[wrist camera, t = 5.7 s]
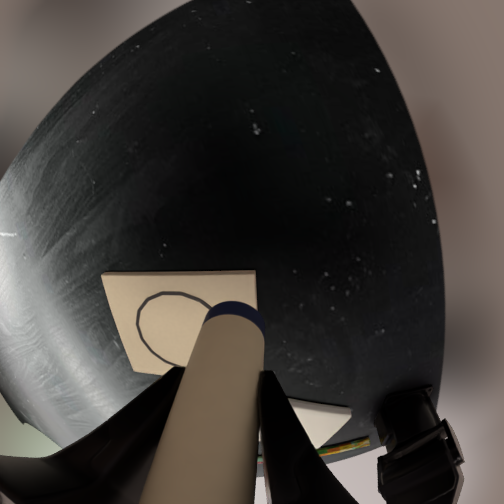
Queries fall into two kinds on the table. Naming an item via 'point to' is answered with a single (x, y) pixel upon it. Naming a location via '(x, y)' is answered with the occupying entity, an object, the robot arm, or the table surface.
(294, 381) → the table surface
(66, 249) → the table surface
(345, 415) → the hard drive
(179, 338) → the sketch pad
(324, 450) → the pencil
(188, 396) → the marker
